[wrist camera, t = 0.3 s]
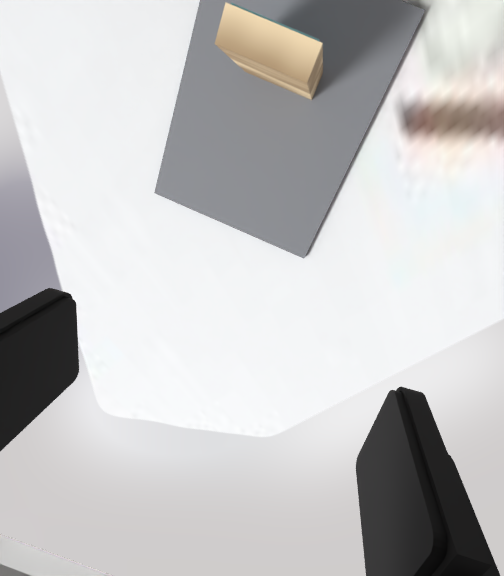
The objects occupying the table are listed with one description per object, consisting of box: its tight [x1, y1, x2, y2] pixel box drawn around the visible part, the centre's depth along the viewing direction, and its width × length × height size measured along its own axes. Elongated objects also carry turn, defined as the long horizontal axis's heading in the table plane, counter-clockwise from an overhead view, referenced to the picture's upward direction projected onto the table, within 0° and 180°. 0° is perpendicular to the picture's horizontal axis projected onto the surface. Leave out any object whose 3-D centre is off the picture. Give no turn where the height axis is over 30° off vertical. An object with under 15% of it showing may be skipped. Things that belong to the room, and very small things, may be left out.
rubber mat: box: [155, 0, 425, 258], centre depth 33 cm, size 24×19×1 cm
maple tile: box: [215, 3, 323, 100], centre depth 27 cm, size 3×7×10 cm, turn 69°
